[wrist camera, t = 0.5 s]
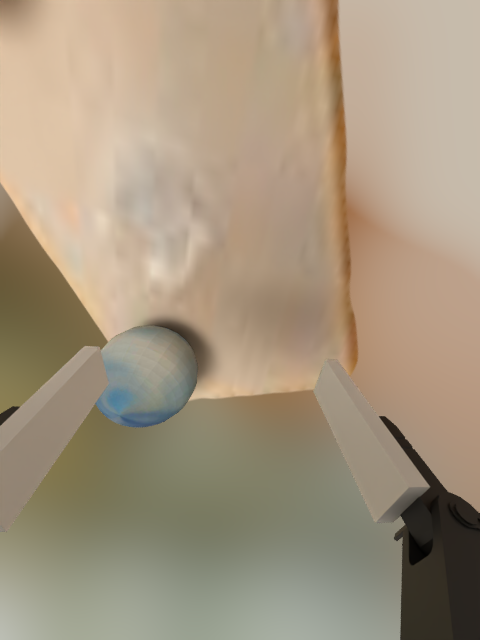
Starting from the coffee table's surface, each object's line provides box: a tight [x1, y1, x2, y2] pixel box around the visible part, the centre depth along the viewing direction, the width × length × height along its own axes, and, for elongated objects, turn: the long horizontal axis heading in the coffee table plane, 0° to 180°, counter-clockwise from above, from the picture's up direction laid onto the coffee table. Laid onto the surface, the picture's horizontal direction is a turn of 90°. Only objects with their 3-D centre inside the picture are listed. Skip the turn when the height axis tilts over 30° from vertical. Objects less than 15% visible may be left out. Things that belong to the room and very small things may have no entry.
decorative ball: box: [95, 325, 198, 427], centre depth 32 cm, size 15×15×15 cm
